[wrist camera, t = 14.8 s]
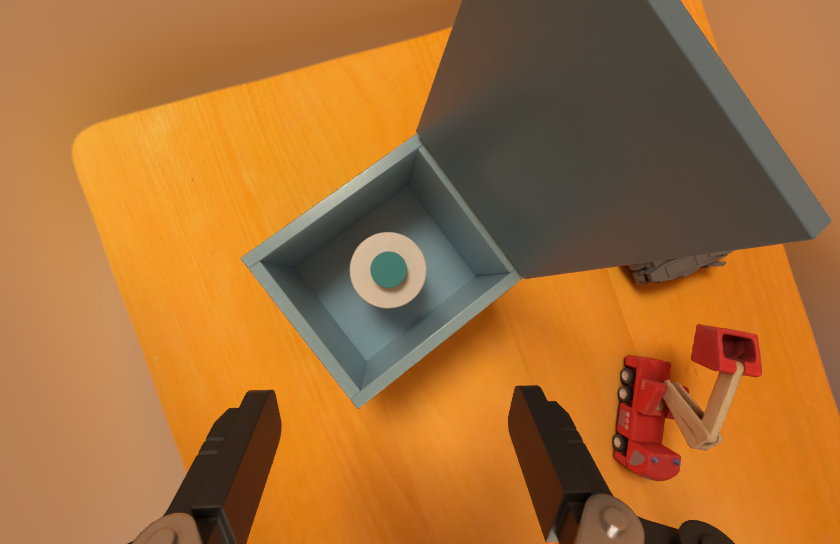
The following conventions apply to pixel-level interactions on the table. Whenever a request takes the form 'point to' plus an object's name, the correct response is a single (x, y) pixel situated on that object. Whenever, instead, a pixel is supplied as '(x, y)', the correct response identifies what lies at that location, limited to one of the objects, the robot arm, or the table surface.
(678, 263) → the tank toy
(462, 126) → the lid
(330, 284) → the washer
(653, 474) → the toy fire truck
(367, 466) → the table surface
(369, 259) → the detergent bottle
